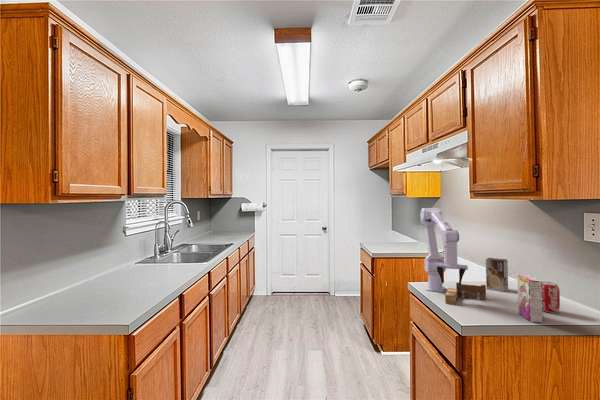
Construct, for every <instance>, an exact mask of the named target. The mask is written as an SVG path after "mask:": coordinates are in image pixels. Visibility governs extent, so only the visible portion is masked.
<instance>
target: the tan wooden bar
mask: <svg viewBox="0 0 600 400" xmlns="http://www.w3.org/2000/svg"><path fill="white" fill-rule="evenodd" d="M444 295H445V296H444V301H445V302H444V303H446V305H453V304H455V305H456V303H455V302H457V300H458V296H457V289H456V288H451V287H449V288H447V290H446V293H445V294H444ZM456 299H457V300H456Z"/></svg>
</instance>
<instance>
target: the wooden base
mask: <svg viewBox="0 0 600 400" xmlns="http://www.w3.org/2000/svg"><path fill="white" fill-rule="evenodd" d="M455 285H456V287H455V289H457V297H461V298H462V299H465V298H471V299H476V301H480V300H486V299H487V285H486V284H481V285H475V284H465V283H461V285H459V282H456V283H455Z"/></svg>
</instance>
